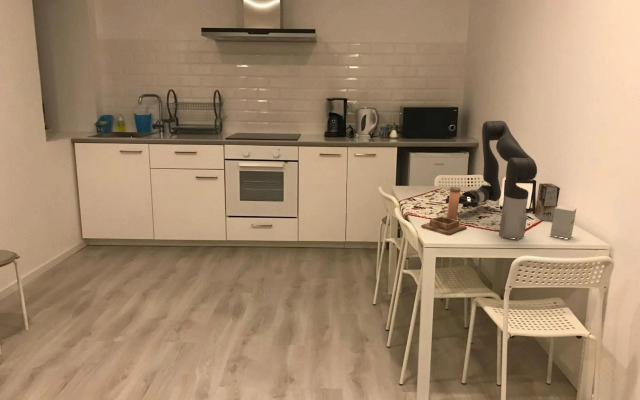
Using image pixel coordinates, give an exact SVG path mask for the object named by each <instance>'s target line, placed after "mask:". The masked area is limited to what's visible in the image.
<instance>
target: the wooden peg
mask: <svg viewBox="0 0 640 400" xmlns="http://www.w3.org/2000/svg"><path fill="white" fill-rule="evenodd" d="M448 196H449V203H448V204H447V205H448V207H447V214H446V218H450V219H454V220H457V221H458V214H459V196H461V188H460V187H458V186H457V187H456V186H450V187H449V195H448Z"/></svg>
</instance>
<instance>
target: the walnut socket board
mask: <svg viewBox="0 0 640 400" xmlns="http://www.w3.org/2000/svg"><path fill="white" fill-rule="evenodd" d="M420 228H421V229H426V230H429V231H432V232H435V233H439V234H443V235H446V236H452V235H454V234H457V233H460V232H463V231H465V230H467V228H468V227H467V226H466V225H465V226H464V225H462V224H460V220H458V219H457V220H454V219H450V218H447V216H446V217H445V216H443V215H441V216H438V217H435V218H431V219H430V220H429V222H426V223H423V224H421V225H420Z"/></svg>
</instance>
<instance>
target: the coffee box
mask: <svg viewBox="0 0 640 400" xmlns="http://www.w3.org/2000/svg"><path fill="white" fill-rule="evenodd" d="M560 190H561V187H560V186H557V185H555V184H553V183H540V182H539V183H538V190H537V198H536V204H535V211H534V216H535V217H537V218H538V219H539V220H540V221H542V222H543V221H544V222H553V216H554V210H555V208H556V207H557V206H558V202H559V198H560V197H559V195H560Z"/></svg>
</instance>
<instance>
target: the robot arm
mask: <svg viewBox="0 0 640 400" xmlns="http://www.w3.org/2000/svg"><path fill="white" fill-rule="evenodd" d="M481 127H482V128H481V137H482V138H481V139H482V140H481V141H482V142H481V143H482V154H483V175H482V176H483V177H482V178H483V181H484V182H485V183H487V184H489V185H487V184H482V185H480V186H479V187H478V188H476V189H471V190H467V191H465V192H463V193H462V194H460V196H459V204H460V205H462V206H461V207H462V208H474V209H475V208H477V207H480V204H482V203H485V202H487V201H491V202H497V201H499V200H500V198H501V195H502V190H501V185H500V181H499V173H500V171H499V169H500V167H499V166H500V165H499V161H498V159H497V157H496V156H495V155H494V153H493V150H492V148H491V142H490V141H496V145H495V148H496V152H497V153H498V155H499V156H500V158H501V159H502V160H503V161H505V162H506V168H505V169H506V170H505V183H504V195H503V201H502V209H501V210H502V211H501V217H500V223H499V230H498V235H499V236H500V235H501V236H503V237H506V238H505V239H507V238H515V239H519V240H521V239H520V238H522V237H524V238H525V233H526V226H527V219H528V215H527V213H526V212H527V206H528V200H529V190H527V189H525V188H524V187H521V186H519V185H517V181H518V182H519V181H521V182H530V181H532V180H534V179H536V177H537V174H538V166H537V163H536V162H535V159H533V158H532V157H531V156H530V155H529V154H528V153H527V152H526V151H525V150H524V149H523V147H522V146H521V145H520V144H519V142H518V141H517V139H516V138H515V137H514V135H513V134H512V133H511V131H510V128H509V126H508V124H507V123H506V122H505V121H503V120H487V121H485V122H483V123H482V126H481ZM445 204H447V205H448V204H449V195H447V196H446V199H445ZM501 236H500V237H501ZM503 237H502V238H503ZM522 239H523V238H522Z"/></svg>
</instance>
